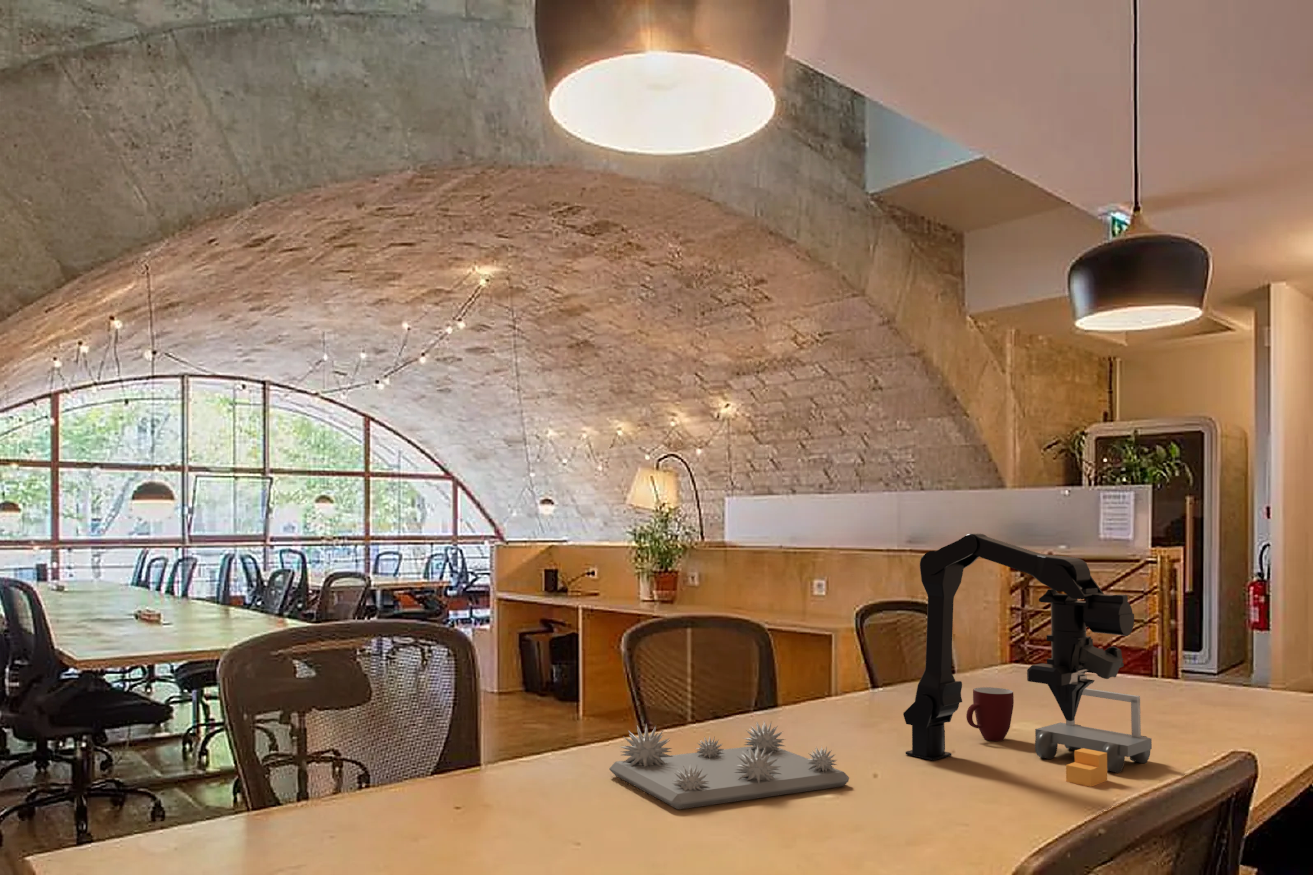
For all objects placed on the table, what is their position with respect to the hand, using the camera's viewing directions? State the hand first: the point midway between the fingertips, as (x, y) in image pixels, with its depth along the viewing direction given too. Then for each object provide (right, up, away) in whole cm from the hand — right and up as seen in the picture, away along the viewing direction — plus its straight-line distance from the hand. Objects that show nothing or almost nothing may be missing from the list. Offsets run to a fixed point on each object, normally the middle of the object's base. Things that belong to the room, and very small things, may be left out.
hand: (1069, 720), depth 179 cm
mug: (-3, -14, +35) cm, 37 cm away
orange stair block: (+4, -12, +3) cm, 13 cm away
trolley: (+12, -13, +18) cm, 25 cm away
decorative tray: (-60, -11, 0) cm, 61 cm away
